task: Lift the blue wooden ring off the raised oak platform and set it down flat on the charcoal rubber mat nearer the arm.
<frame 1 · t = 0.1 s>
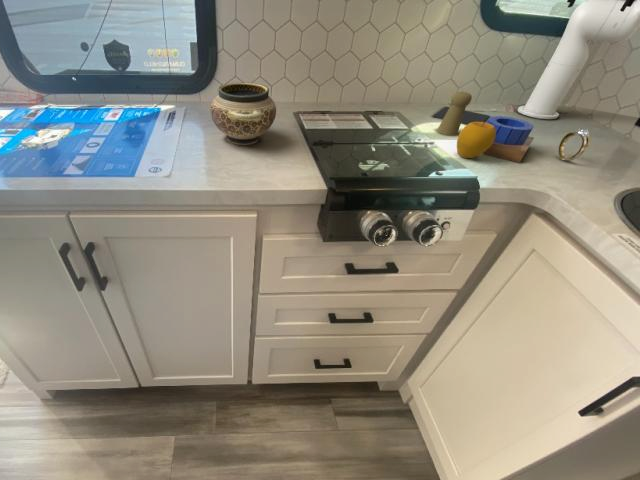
hand: (594, 9, 78), 31 cm above the table, tool pointing down, fingers open, 9 cm apart
ring: (502, 137, 98), point 3 cm above the table, touching platform
floral ceramic pot: (242, 139, 99), on the table
platform: (496, 148, 100), on the table
mat: (460, 116, 120), on the table
ring 2: (562, 160, 95), on the table
apple: (466, 157, 95), on the table
tan pawn figure: (446, 132, 109), on the table
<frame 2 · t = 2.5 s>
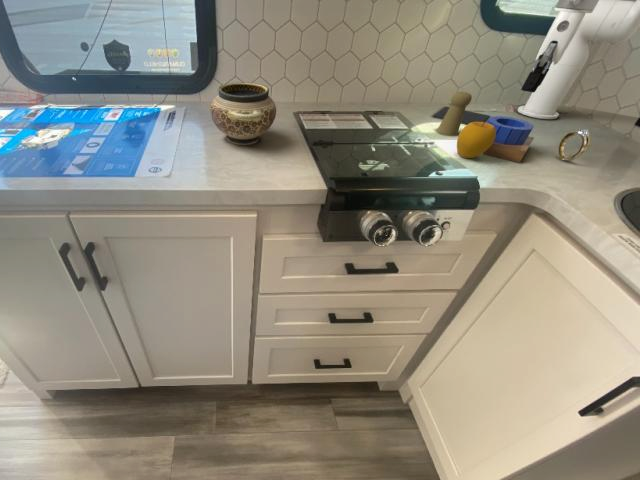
hand: (530, 88, 92), 15 cm above the table, tool pointing down, fingers open, 9 cm apart
nothing on the table moved.
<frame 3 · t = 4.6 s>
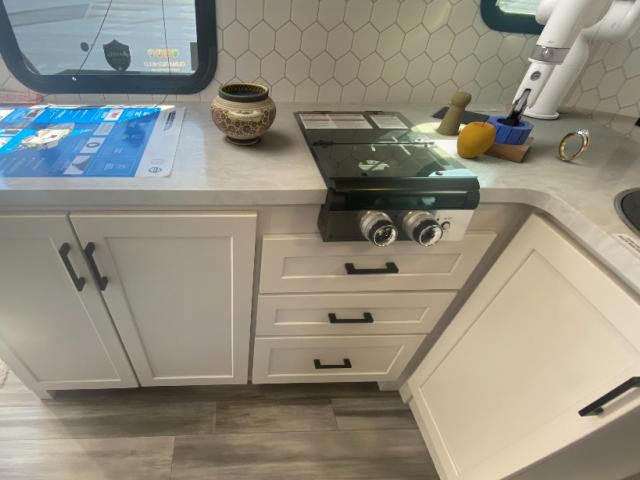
hand: (506, 131, 100), 4 cm above the table, tool pointing down, fingers closed on ring, 2 cm apart
ring: (502, 137, 98), point 3 cm above the table, touching gripper, platform
everything else where it was.
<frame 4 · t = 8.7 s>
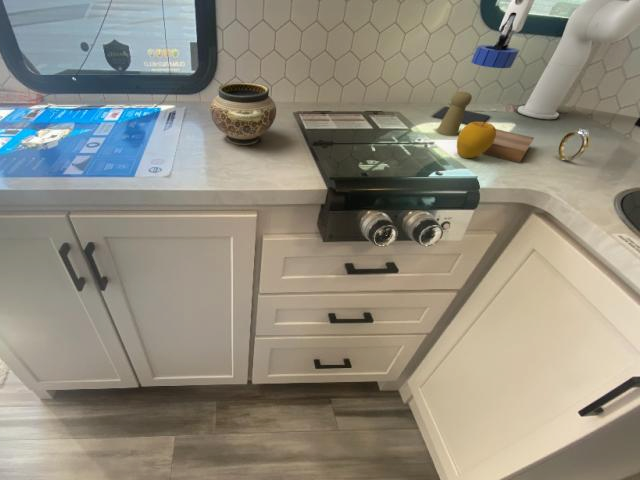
hand: (495, 59, 108), 17 cm above the table, tool pointing down, fingers closed on ring
ring: (491, 64, 106), point 16 cm above the table, touching gripper
everything else where it was.
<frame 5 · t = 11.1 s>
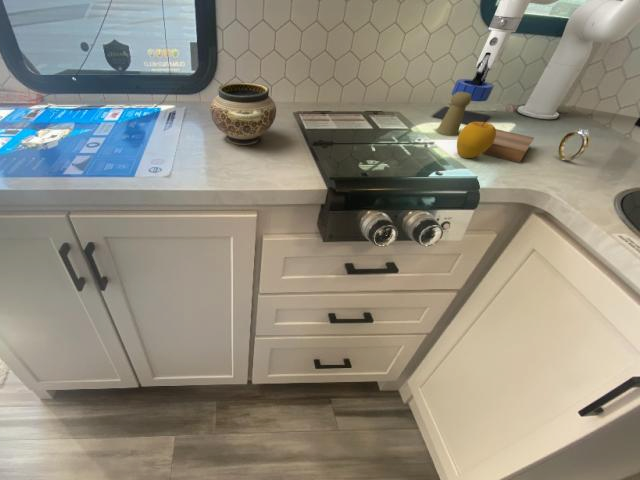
hand: (473, 92, 118), 7 cm above the table, tool pointing down, fingers closed on ring
ring: (469, 96, 116), point 6 cm above the table, touching gripper
everything else where it was.
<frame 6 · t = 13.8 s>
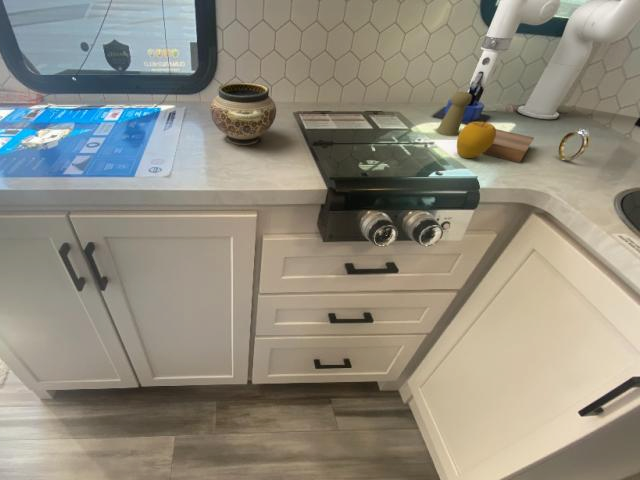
hand: (469, 104, 121), 3 cm above the table, tool pointing down, fingers open, 9 cm apart
ring: (461, 115, 120), resting on mat
everything else where it was.
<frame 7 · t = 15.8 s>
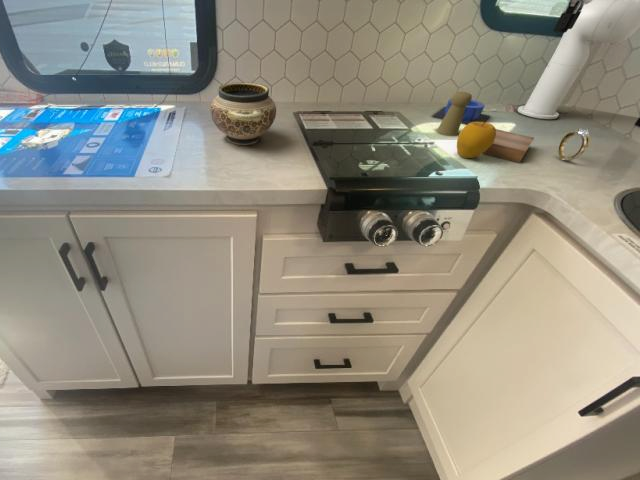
hand: (562, 30, 98), 25 cm above the table, tool pointing down, fingers open, 9 cm apart
nothing on the table moved.
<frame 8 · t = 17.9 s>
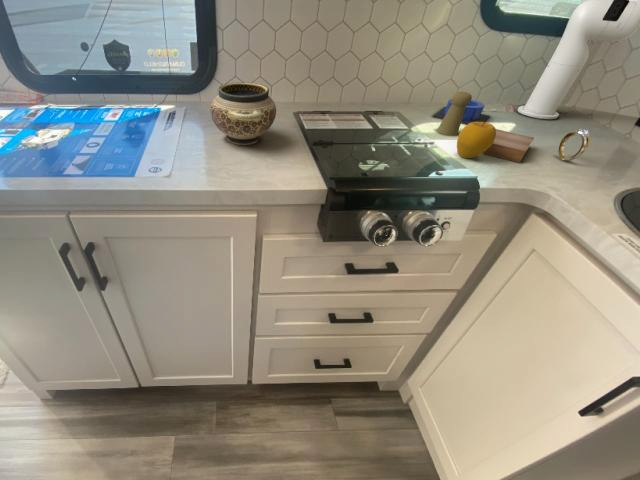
hand: (609, 19, 92), 28 cm above the table, tool pointing down, fingers open, 9 cm apart
nothing on the table moved.
at the end: ring inside the target area on the mat (0.2 cm from its centre), point 0.4 cm above the mat's base; ring touching mat; ring tilted 0° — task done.
